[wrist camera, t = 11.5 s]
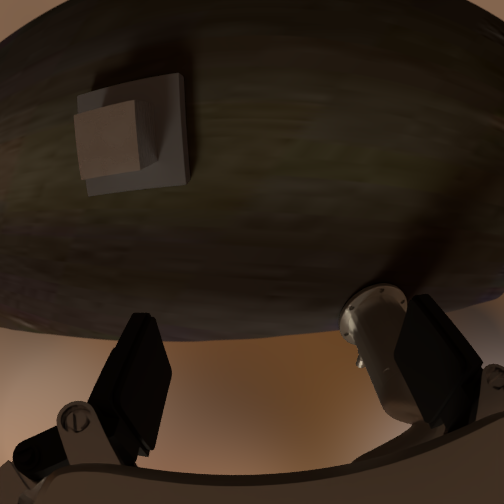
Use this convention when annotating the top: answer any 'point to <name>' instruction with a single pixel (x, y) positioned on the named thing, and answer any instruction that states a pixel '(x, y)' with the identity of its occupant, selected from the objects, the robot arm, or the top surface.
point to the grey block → (166, 131)
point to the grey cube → (115, 139)
